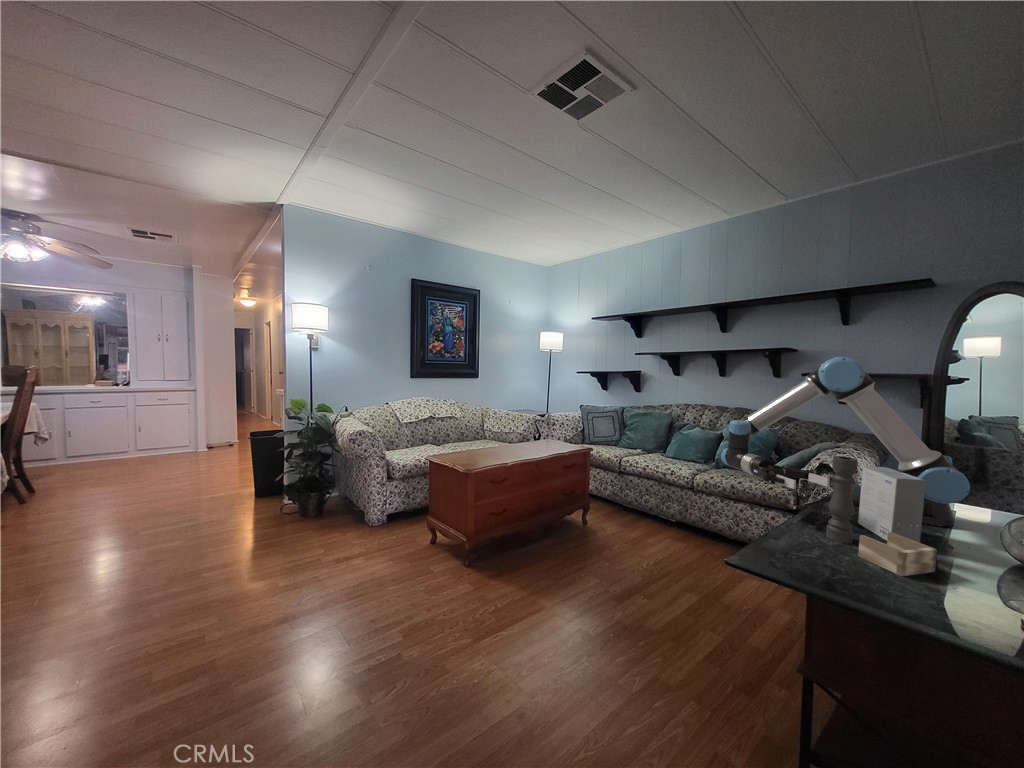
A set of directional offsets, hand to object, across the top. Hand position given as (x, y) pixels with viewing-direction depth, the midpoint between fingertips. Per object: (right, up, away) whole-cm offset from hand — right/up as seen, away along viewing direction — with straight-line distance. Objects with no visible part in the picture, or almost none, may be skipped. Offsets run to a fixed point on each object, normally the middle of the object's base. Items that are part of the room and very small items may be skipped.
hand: (811, 483), depth 128 cm
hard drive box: (+20, -15, -4) cm, 26 cm away
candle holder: (+2, -15, -8) cm, 17 cm away
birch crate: (+5, -16, -22) cm, 27 cm away
